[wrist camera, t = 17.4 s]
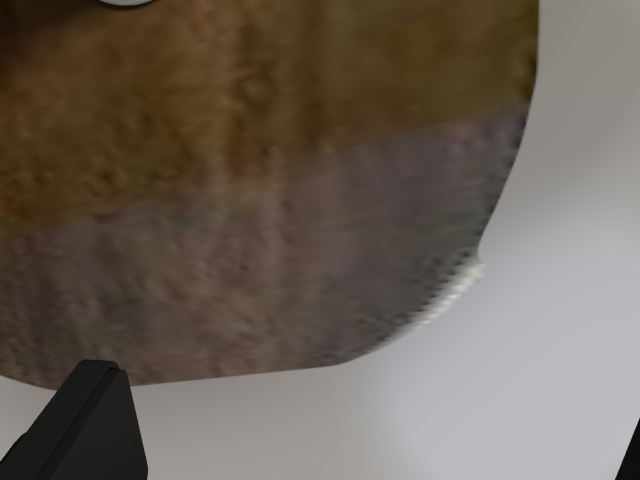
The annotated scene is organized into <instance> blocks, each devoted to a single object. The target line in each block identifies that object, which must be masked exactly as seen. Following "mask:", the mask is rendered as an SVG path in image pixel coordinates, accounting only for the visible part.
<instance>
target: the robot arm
mask: <svg viewBox="0 0 640 480" xmlns="http://www.w3.org/2000/svg"><path fill="white" fill-rule="evenodd" d="M100 1H103V2H105V3H109V4H115V5H121V6H126V5H138V4H144V3H148V2H150V1H153V0H100ZM147 476H148V466H147V460H146V456H145V452H144V447H143V443H142V439H141V434H140V429H139V425H138V420H137V416H136V412H135V407H134V403H133V398H132V393H131V389H130V385H129V380H128V376H127V373H126V371H125V370H120V369H119V366H118V364H117V363H116V362H114V361H102V360H82V361H80V362H79V363H78V365H77V366H76V367H75V368H74V370H73V371H72V372H71V374H70V375H69V376H68V378H67V379H66V380H65V382H64V383H63V384H62V386H61V387H60V388H59V390H58V391H57V392H56V394H55V395H54V396H53V398H52V399H51V400H50V402H49V403H48V404H47V405H46V407H45V408H44V409H43V411H42V412H41V413H40V415H39V416H38V417H37V419H36V420H35V421H34V423H33V424H32V426H31V427H30V428H29V430H28V431H27V432H26V433H24V434H23V435H21V436H20V438H19V439H18V440H17V441H16V442H15V443H14V444H13V445H12V447H11V448H10V449H9V451H8V452H7V453H6V455H5V456H4V457H3V459H2V460H1V461H0V480H147ZM615 480H640V419H639V421H638V424H637V426H636V429H635V431H634V434H633V436H632V439H631V441H630V444H629V446H628V449H627V451H626V454H625V456H624V459H623V462H622V464H621V466H620V469H619V471H618V474H617V476H616V479H615Z"/></svg>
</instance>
